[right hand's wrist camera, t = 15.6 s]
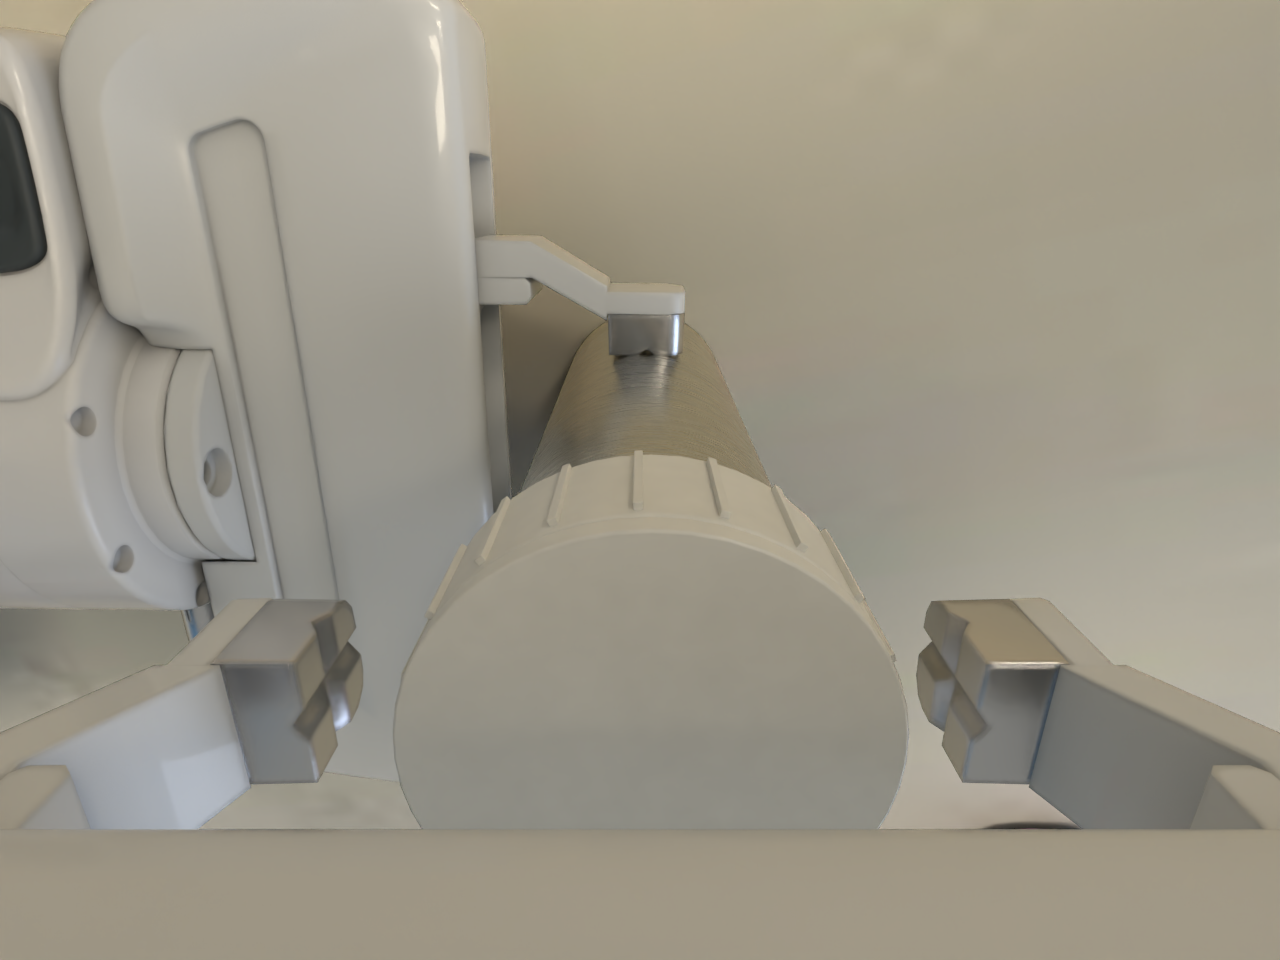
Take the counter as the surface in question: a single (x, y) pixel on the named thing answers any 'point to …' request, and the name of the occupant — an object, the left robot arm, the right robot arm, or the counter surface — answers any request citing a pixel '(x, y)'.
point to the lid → (650, 664)
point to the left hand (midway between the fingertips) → (679, 441)
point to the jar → (644, 410)
